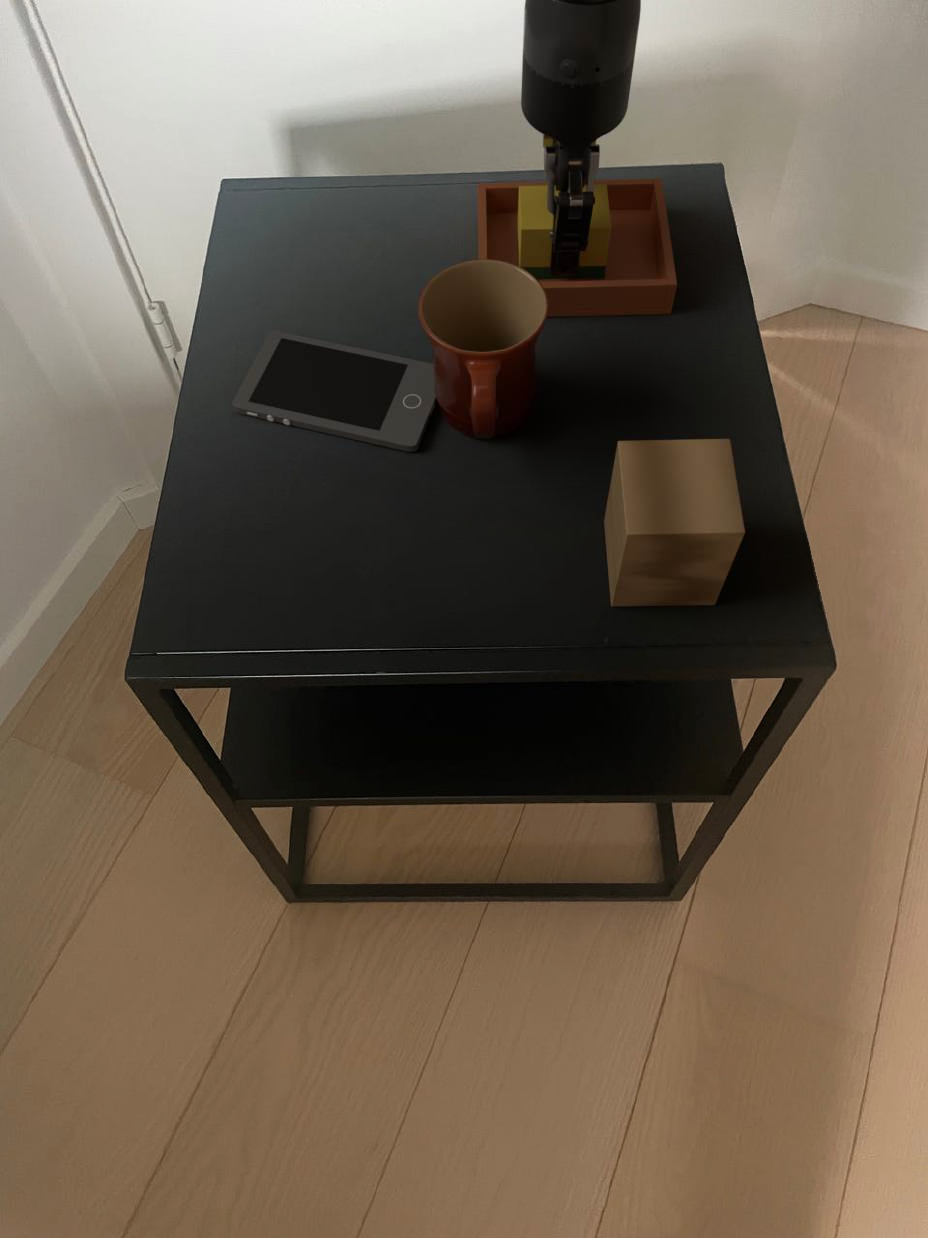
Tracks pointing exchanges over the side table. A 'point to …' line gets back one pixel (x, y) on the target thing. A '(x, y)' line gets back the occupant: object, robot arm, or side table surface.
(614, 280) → the tray
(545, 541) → the side table surface
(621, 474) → the tall wooden block
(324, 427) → the smartphone
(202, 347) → the side table surface
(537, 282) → the mug
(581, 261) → the sponge
